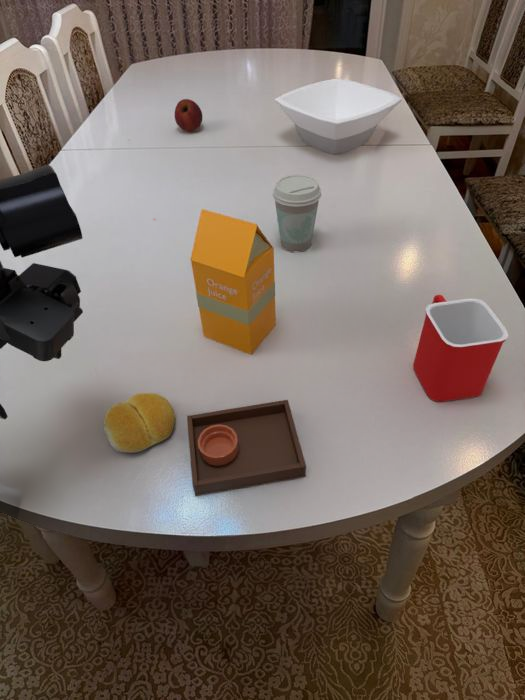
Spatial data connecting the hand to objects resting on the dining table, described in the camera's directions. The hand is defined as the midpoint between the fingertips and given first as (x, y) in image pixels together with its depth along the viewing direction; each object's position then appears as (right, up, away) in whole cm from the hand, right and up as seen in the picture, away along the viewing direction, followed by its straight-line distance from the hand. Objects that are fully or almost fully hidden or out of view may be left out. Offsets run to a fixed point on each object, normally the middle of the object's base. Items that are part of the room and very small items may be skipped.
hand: (31, 385), depth 55 cm
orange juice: (+22, +7, +23) cm, 33 cm away
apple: (+6, +64, +81) cm, 103 cm away
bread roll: (+10, -6, +10) cm, 15 cm away
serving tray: (+23, -9, +7) cm, 26 cm away
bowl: (+44, +58, +72) cm, 103 cm away
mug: (+51, +1, +16) cm, 53 cm away
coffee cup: (+32, +24, +40) cm, 56 cm away
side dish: (+20, -9, +7) cm, 23 cm away
